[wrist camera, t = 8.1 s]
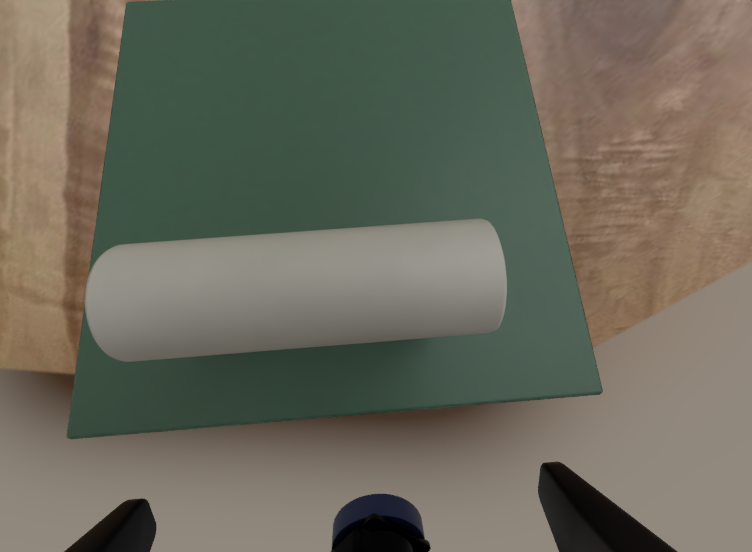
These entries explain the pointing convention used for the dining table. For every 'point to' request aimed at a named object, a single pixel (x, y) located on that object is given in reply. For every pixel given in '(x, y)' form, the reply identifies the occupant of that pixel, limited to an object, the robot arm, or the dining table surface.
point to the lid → (323, 220)
